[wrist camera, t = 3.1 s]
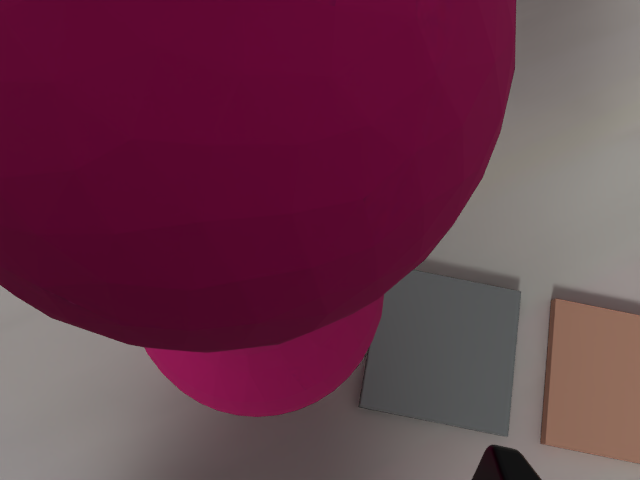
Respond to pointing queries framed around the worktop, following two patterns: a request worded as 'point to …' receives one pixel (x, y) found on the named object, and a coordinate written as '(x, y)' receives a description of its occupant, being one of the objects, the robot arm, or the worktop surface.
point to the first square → (444, 353)
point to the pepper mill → (240, 173)
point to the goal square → (592, 381)
